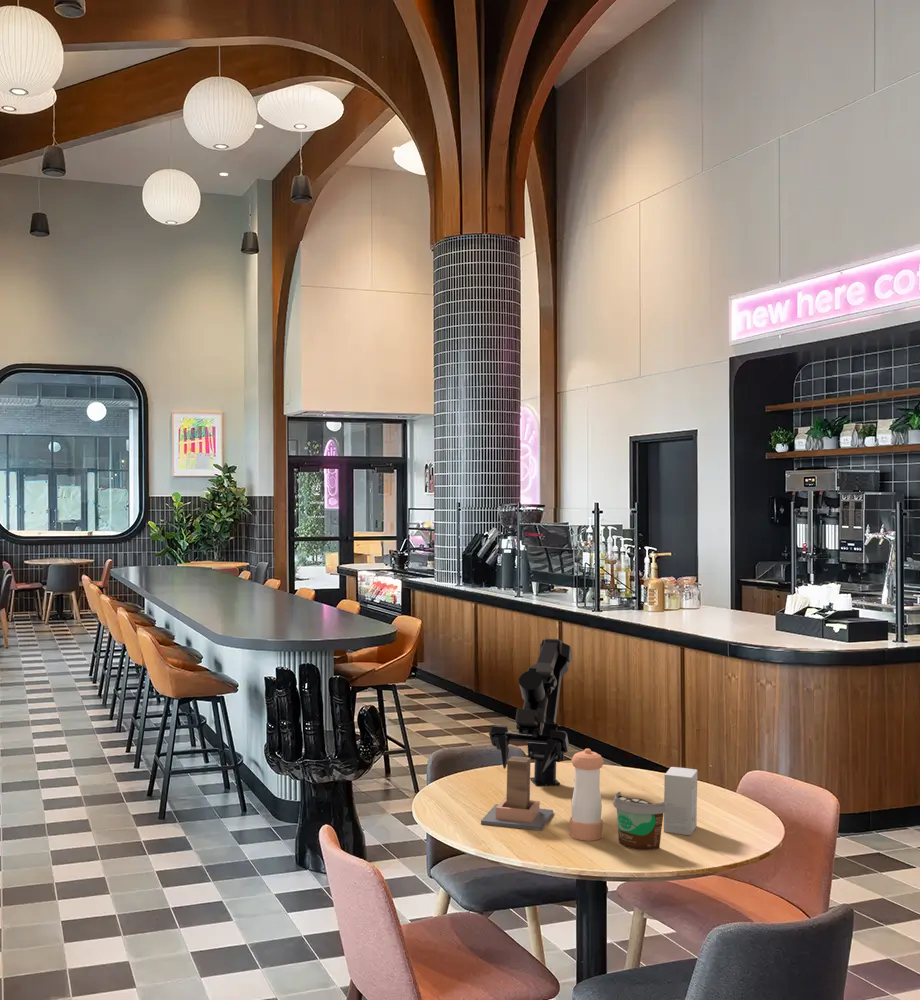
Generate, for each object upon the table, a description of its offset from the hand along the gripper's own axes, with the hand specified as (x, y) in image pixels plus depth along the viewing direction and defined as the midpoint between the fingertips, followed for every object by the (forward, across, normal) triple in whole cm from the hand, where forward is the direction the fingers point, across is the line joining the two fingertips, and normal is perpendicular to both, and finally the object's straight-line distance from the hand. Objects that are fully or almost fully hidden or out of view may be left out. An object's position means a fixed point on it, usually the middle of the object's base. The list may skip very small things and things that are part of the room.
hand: (523, 769), depth 248 cm
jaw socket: (+11, 0, +4) cm, 11 cm away
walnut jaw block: (+10, 0, +3) cm, 11 cm away
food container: (+18, +28, -4) cm, 33 cm away
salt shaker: (+16, +17, -1) cm, 23 cm away
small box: (+7, +37, +8) cm, 38 cm away
